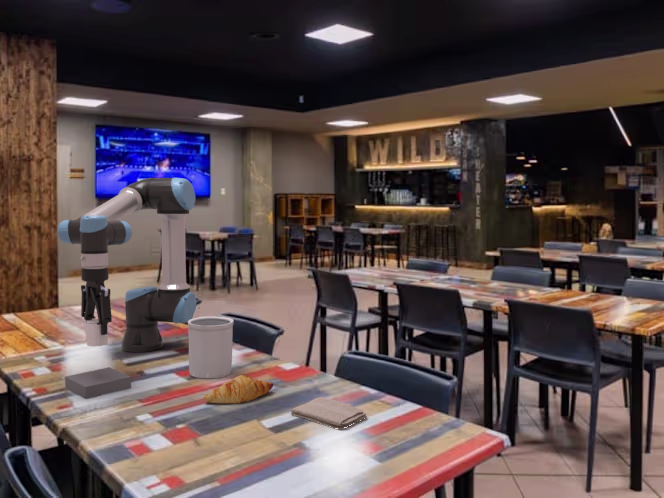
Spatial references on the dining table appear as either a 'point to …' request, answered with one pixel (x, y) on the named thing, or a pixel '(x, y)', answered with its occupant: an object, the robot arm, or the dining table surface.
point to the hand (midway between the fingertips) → (96, 343)
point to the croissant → (238, 390)
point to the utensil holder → (210, 346)
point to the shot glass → (92, 332)
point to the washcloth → (329, 412)
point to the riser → (97, 382)
